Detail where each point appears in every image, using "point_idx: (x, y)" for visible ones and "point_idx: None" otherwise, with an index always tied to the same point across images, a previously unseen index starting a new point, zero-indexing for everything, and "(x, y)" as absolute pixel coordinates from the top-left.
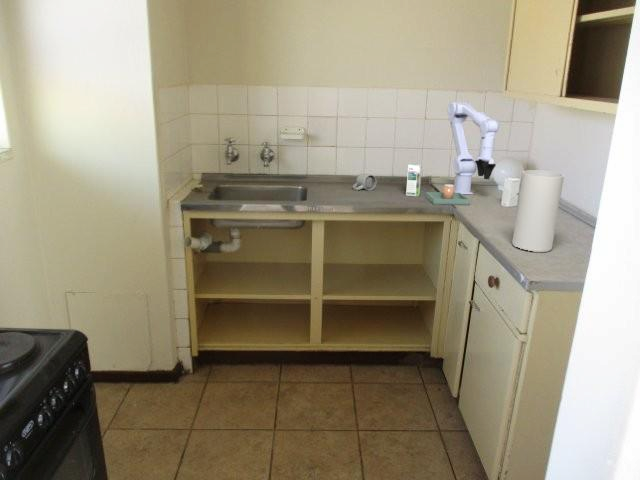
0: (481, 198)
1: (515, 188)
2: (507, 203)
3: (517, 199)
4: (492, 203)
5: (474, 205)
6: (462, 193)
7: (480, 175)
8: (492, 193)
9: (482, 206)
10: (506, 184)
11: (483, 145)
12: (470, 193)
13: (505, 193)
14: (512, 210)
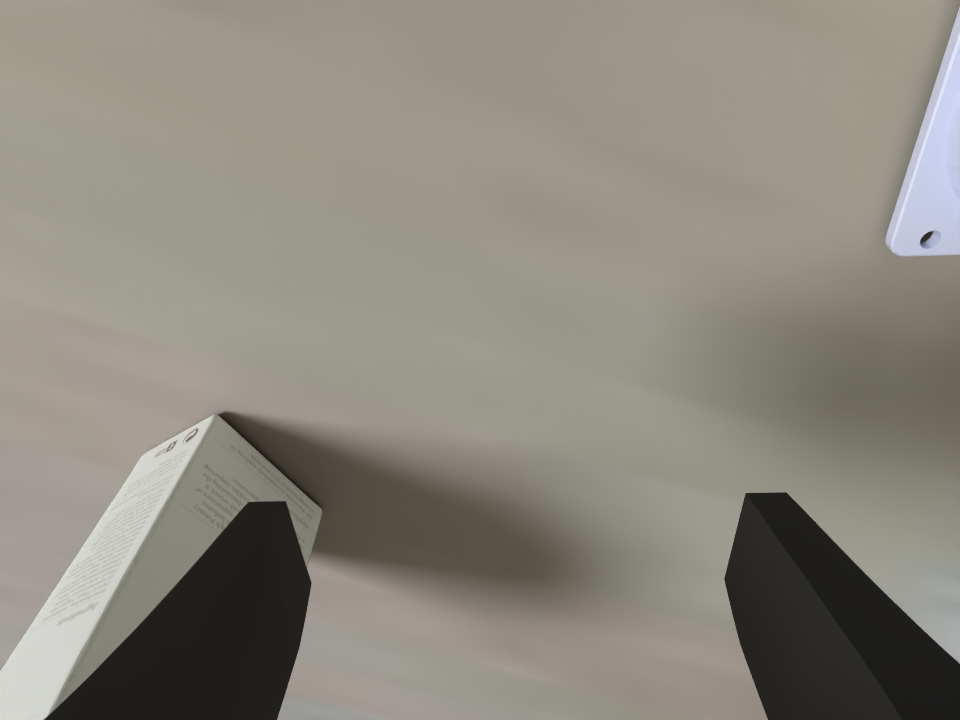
0: (605, 297)
1: None
2: (135, 474)
3: None
4: (306, 347)
5: (65, 23)
6: (955, 45)
7: (743, 542)
8: (887, 511)
9: (52, 149)
10: (33, 690)
11: None
12: (905, 209)
13: (108, 554)
14: (8, 445)
